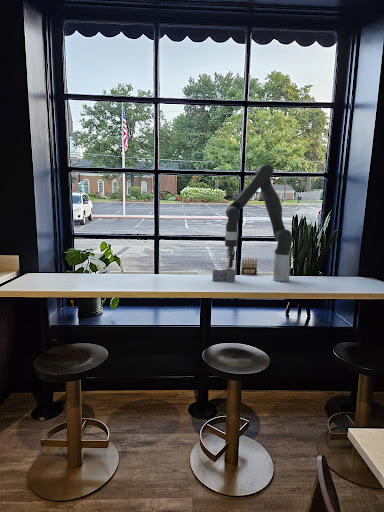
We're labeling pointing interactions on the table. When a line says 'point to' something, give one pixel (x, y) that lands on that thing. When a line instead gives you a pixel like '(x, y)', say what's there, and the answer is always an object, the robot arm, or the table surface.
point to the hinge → (224, 275)
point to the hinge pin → (228, 263)
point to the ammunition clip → (249, 267)
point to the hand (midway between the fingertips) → (230, 265)
